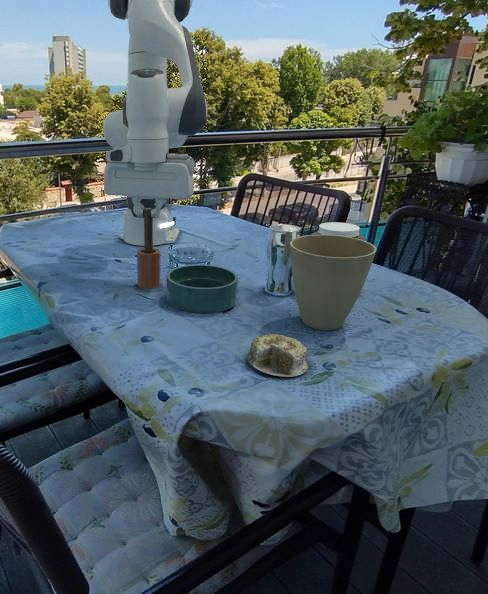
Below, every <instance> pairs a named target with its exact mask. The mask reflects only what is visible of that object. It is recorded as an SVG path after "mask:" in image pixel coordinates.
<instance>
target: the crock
mask: <svg viewBox="0 0 488 594" xmlns="http://www.w3.org/2000/svg"><path fill="white" fill-rule="evenodd" d="M136 270H137V272H136V273H137V279H136V280H137V287H138V288H140V289H142V290H154V289H158V288H160V287H161V250H160V249H159V248H156V247H153V253H144V247H141V248H138V249H137V250H136Z"/></svg>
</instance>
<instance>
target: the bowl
mask: <svg viewBox="0 0 488 594" xmlns="http://www.w3.org/2000/svg"><path fill="white" fill-rule="evenodd" d="M238 286H239V276H238V274H237V273H236V272H234V271H233V270H231V269H229V268H226V267H223V266H218V265H211V264H187V265H181V266H178V267H174V268H172V269H171V270H169V271H168V272H167V274H166V301H167V303H168V304H169V305H170V306H171V307H173V308H175V309H177V310H180V311H184V312H188V313H194V314H215V313H220V312H224V311H227V310H230V309H232V308H234V307H235V305H236V304H237V300H238Z"/></svg>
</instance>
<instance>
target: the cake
mask: <svg viewBox="0 0 488 594" xmlns="http://www.w3.org/2000/svg"><path fill="white" fill-rule="evenodd" d="M306 357H307V347H306V346H304V344H302V342H301V341H299V340H297V339H295V338H292V337H290V336H286V335H282V334H275V333H273V334H270V333H269V334H263V335H259V336H256V338H254V339H253V340H252V342H251V343H250V348H249V352H247V354H246V361H247V363H248V364H249V365H250V366H251V367H253V368H254V369H255V370H258V371H259V372H261V373H264V374H267V375H271V376H276V377H277V376H278V377H285V378H292V377H298V376H301V375H303V374H305V373H306V372H307V371H308V369H309V366H308V362H307V361H306Z"/></svg>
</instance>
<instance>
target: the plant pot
mask: <svg viewBox="0 0 488 594" xmlns="http://www.w3.org/2000/svg"><path fill="white" fill-rule="evenodd" d="M376 252H377V247H376V246H375V245H374V244H372V243H371V242H369V241H363V240H360V239H356V238H352V237H346V236H338V235H311V234H308V235H300V237H297V238H295V239H293V240H292V241H291V242H290V255H291V269H292V284H293V289H294V295H295V299H296V304H297V307H298V311H299V315H300V317H301V322H302V323H303V324H304V325H305V326H307V327H309V328H312V329H315V330H318V331H334V330H338V329H340V328H341V327H342V325H343V324H344V322H345V321H346V319H347V318H348V316H349V315H350V313H351V312H352V309H353V308H354V306H355V304H356V302H357V300H358V298H359V296H360V294H361V292H362V290H363V287H364V285H365V283H366V281H367V278H368V275H369V272H370V270H371V267H372V264H373V262H374V259H375V255H376Z"/></svg>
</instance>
